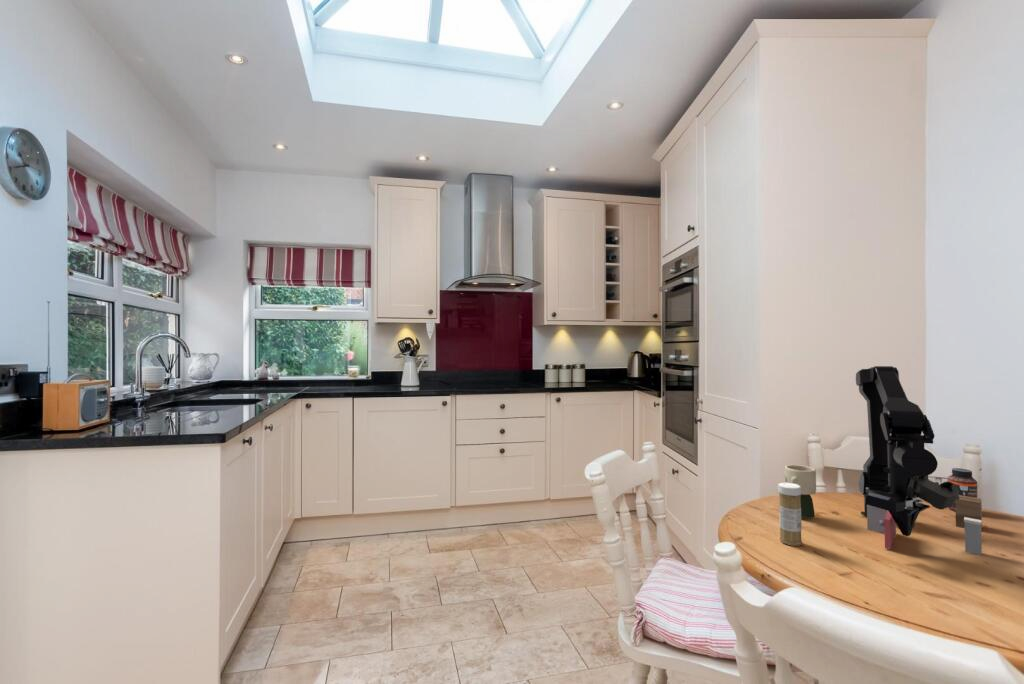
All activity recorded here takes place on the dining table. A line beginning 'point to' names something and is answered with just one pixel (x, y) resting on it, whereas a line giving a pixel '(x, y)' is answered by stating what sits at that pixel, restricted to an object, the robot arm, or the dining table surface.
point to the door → (888, 530)
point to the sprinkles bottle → (790, 513)
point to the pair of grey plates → (971, 525)
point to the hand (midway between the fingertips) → (906, 535)
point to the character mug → (803, 486)
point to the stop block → (967, 509)
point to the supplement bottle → (963, 483)
